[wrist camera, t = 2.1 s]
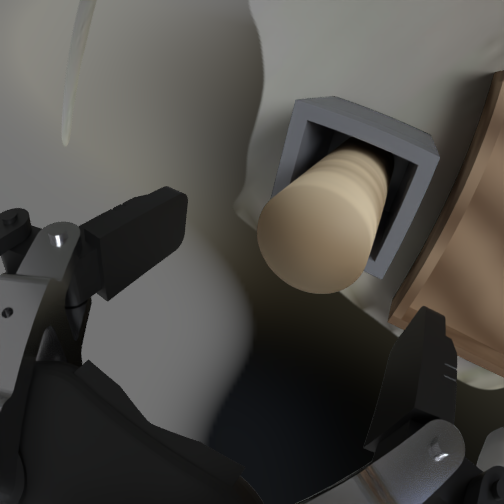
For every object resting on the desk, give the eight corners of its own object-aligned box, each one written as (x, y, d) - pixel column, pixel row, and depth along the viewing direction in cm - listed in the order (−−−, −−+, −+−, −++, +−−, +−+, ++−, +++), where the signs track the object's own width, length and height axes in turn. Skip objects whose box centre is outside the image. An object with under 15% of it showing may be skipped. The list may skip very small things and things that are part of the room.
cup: (524, 445, 23) (520, 508, 16) (473, 454, 28) (462, 517, 21) (534, 413, 21) (535, 486, 14) (476, 425, 26) (467, 498, 19)
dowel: (347, 124, 20) (271, 168, 10) (402, 147, 19) (388, 218, 9) (331, 175, 22) (247, 264, 12) (382, 197, 21) (342, 310, 11)
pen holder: (334, 96, 20) (295, 99, 14) (430, 134, 18) (440, 157, 12) (308, 184, 24) (263, 224, 18) (394, 222, 22) (381, 279, 16)
